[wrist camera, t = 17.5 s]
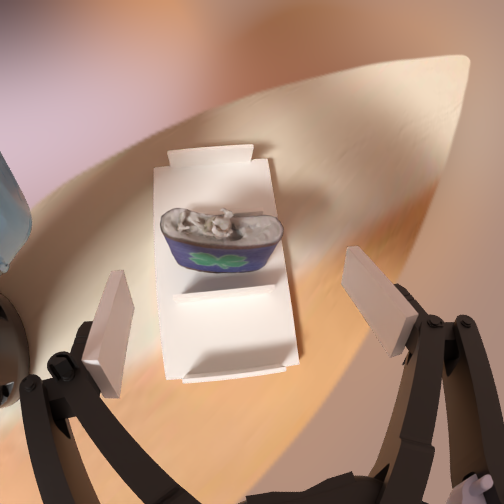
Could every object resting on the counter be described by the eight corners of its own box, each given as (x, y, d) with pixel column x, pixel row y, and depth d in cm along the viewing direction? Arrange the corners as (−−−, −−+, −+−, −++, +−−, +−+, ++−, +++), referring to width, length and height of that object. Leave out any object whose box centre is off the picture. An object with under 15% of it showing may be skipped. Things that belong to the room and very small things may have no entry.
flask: (266, 248, 31) (290, 204, 20) (265, 276, 30) (290, 246, 20) (175, 242, 30) (154, 195, 19) (172, 270, 29) (148, 236, 19)
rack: (168, 378, 27) (160, 384, 23) (155, 172, 33) (148, 153, 29) (296, 363, 29) (308, 367, 25) (265, 163, 35) (271, 143, 31)
